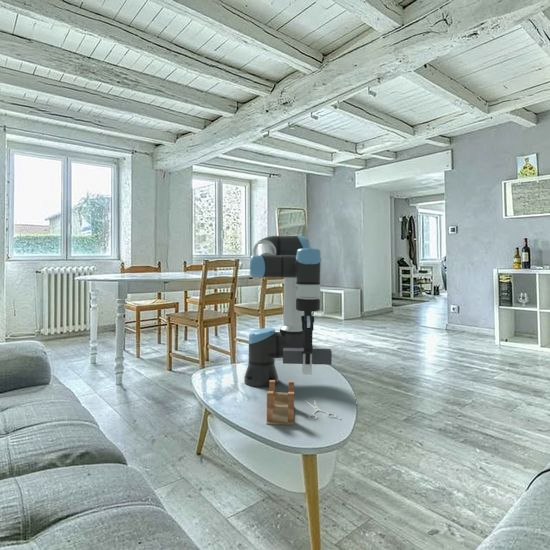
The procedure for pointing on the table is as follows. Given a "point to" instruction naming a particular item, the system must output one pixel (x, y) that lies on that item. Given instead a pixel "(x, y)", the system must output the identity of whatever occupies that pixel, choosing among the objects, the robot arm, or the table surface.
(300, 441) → the table surface
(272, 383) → the wooden ladder frame
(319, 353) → the bar
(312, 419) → the white flat branched piece
